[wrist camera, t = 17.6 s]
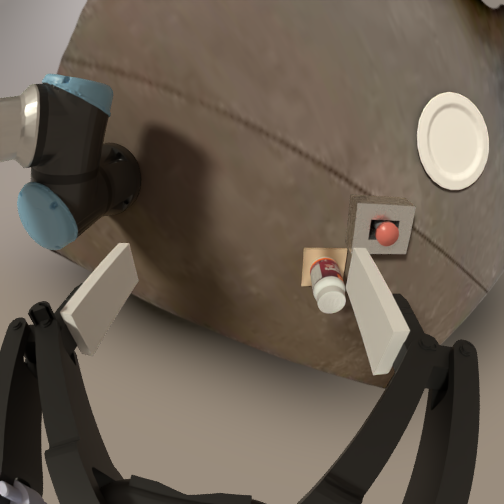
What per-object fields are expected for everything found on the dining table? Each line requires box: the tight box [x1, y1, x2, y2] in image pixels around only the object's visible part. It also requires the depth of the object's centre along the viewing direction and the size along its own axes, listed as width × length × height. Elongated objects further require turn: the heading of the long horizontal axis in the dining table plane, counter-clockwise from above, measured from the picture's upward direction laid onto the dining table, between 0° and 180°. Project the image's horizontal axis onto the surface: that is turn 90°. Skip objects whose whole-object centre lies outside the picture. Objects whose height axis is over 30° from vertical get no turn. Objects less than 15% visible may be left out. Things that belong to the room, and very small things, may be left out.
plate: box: [417, 92, 489, 190], centre depth 40 cm, size 21×21×2 cm
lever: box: [372, 220, 399, 246], centre depth 47 cm, size 4×4×6 cm
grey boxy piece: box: [345, 194, 416, 254], centre depth 49 cm, size 12×10×5 cm
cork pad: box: [301, 248, 347, 286], centre depth 57 cm, size 9×9×1 cm
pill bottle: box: [310, 257, 346, 313], centre depth 52 cm, size 6×6×11 cm
